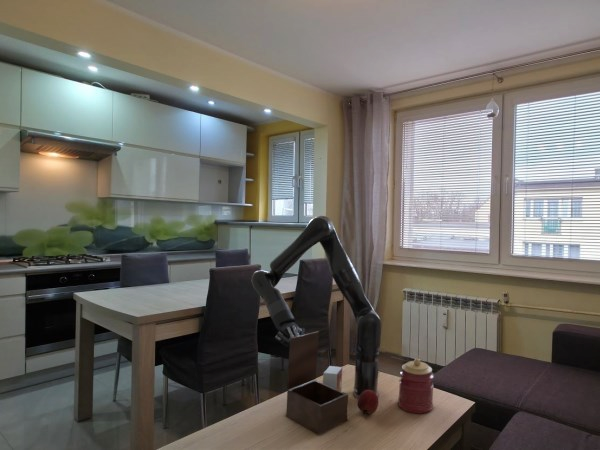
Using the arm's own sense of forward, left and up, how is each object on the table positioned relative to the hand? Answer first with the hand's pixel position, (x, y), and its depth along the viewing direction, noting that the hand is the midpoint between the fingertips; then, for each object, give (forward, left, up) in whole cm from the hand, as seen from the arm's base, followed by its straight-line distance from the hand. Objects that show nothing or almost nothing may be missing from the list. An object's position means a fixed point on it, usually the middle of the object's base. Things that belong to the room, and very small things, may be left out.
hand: (300, 354), depth 137 cm
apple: (-4, +25, -20) cm, 32 cm away
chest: (+5, +9, -19) cm, 22 cm away
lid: (+1, +2, -1) cm, 3 cm away
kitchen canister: (-15, +41, -20) cm, 48 cm away
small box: (-12, +9, -20) cm, 25 cm away
